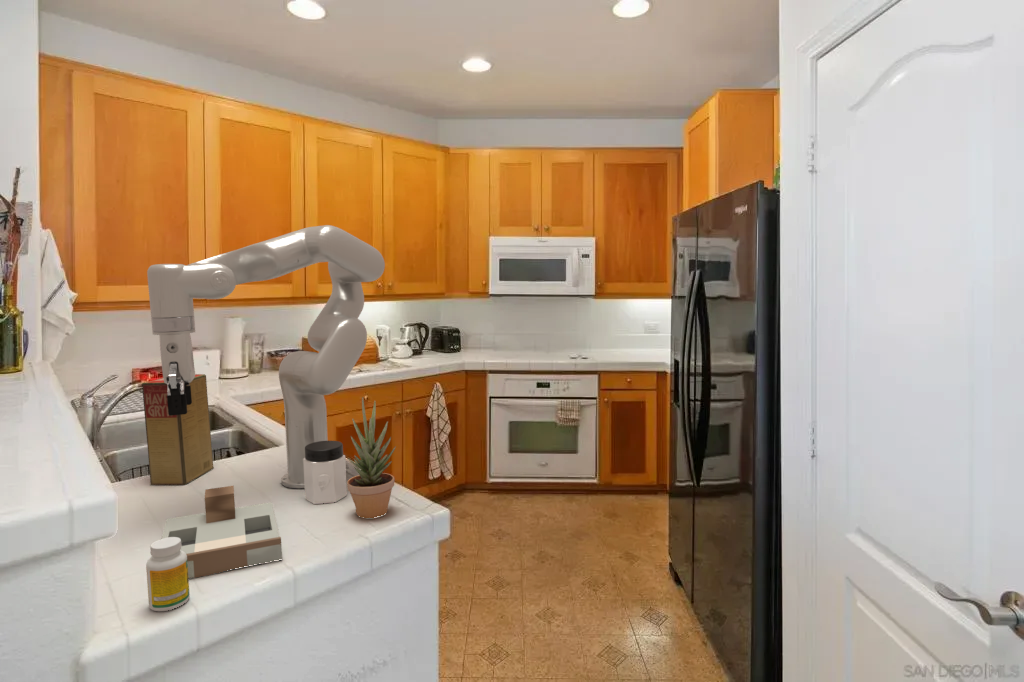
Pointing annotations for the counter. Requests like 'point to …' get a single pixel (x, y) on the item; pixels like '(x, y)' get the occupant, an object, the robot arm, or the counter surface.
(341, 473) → the jar
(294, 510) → the counter surface
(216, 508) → the walnut block
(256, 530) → the board
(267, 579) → the counter surface
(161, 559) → the supplement bottle
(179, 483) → the food packaging
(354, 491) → the potted plant
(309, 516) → the counter surface
